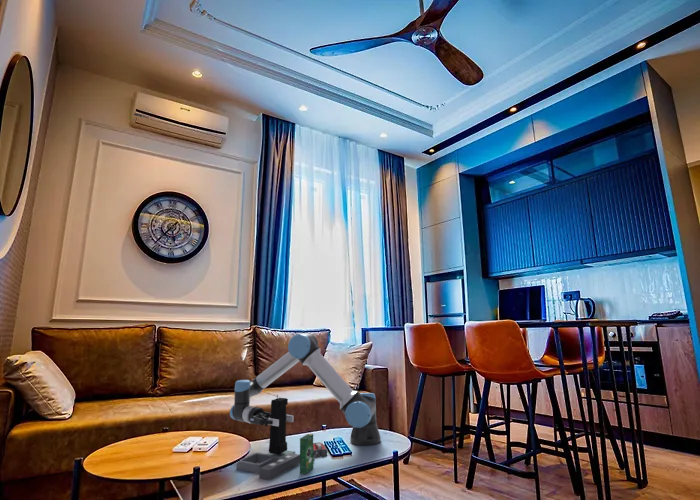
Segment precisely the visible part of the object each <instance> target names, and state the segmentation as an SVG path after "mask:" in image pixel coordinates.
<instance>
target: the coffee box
mask: <svg viewBox="0 0 700 500" xmlns="http://www.w3.org/2000/svg"><path fill="white" fill-rule="evenodd" d="M313 443H314V434H313V433H307V434H305V435H303V436H302V437H301V438H299V454H300V464H299V475H307V474H308V473H309V472H310V471H311V470H313V468H314V461H313V458H314V457H313Z"/></svg>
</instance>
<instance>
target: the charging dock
mask: <svg viewBox="0 0 700 500" xmlns="http://www.w3.org/2000/svg"><path fill="white" fill-rule="evenodd" d="M243 458H244V459H243ZM243 458H241V459H242V460H241V459H240V460H241V461H239V462H238V463H237V462H236V470H239V471H244V472H249V473H256V474H258V475H259V477H258V479H262V480H266V481H271V480H273V479H274V478H276V477H278V476H280V475H283V473H285V472H287V471H289V470H291V469H293V468H295V467H296V466H298V465H300V453H299V454H298V453H294V454H293V453H290V454H288V455H286V456H284V457H282V458H280V459H278V456H274V455H268V453H262V452H255V453H252V454H250V455H248V456H246V457H243ZM256 462H257V463H256ZM258 462H260V463H258Z"/></svg>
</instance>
